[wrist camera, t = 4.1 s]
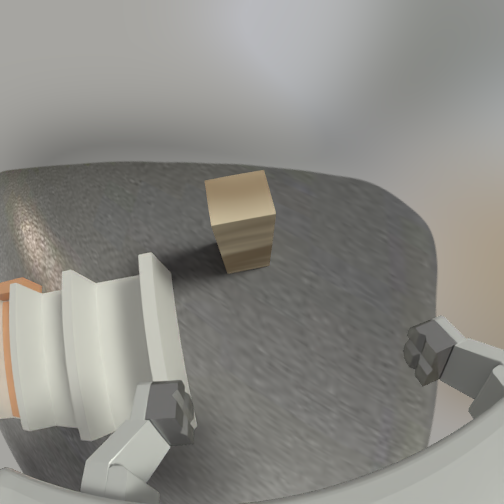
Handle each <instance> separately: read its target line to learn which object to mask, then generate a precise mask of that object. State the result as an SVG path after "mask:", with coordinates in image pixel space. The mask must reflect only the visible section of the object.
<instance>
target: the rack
mask: <svg viewBox="0 0 504 504" xmlns="http://www.w3.org/2000/svg"><path fill="white" fill-rule="evenodd" d="M138 257H139V273H140V275H136V276H131V277H126V278H121V279H116V280H111V281H105V282H100V283H94V282H93V281H91V280H89V279H87V278H85V277H84V276H82V275H80V274H78V273H76V272H75V271H73V270H68V271H63V272H62V290H59V291H53V292H48V293H43V294H42V286H40V285H38V284H36V283H34V282H32V281H29V280H27V279H25V278H23V277H22V278H18V279H14V280H10V281H6V282H2V283H0V419H6V418H18V419H21V423H22V428H23V430H27V431H33V430H38V429H43V428H48V427H53V426H63V427H71V428H78V430H79V433H80V437H81V440H85V441H94V440H96V439H98V438H101V437H103V436H105V435H108V434H110V433H112V432H114V431H116V430H117V428H118V427H119V426H120V425H121V424H122V423H123V422H124V421H125V420H130V416H131V411H132V406H133V401H134V397H135V392H136V387H137V385H138V384H139V382H153V381H172V380H182V382H183V384H184V385H185V392H186V393H188V394H189V395H190V397H191V394H190V390H189V385H188V380H187V375H186V369H185V364H184V358H183V353H182V347H181V341H180V335H179V328H178V322H177V315H176V308H175V300H174V293H173V285H172V276H171V272H170V271H169V270H168V269H167V268H166V267H165V266H164V265H163V264H162V263H161V262H160V261H159V260H158V259H157V258H156V257H155V256H154V254H153V253H152V252H150V253H145V254H140V255H138ZM191 400H192V399H191ZM193 409H194V408H193ZM190 424H191V425H192V427H193V428H194V429H195V428H196V427H197V421H196V417H195V413H194V419H193V420H192V421H191V423H190Z"/></svg>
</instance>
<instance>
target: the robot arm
mask: <svg viewBox="0 0 504 504" xmlns="http://www.w3.org/2000/svg"><path fill="white" fill-rule="evenodd" d="M407 336H408V338H409V340H408V341H407V342H406V343H405V345H404V350H403V353H404V359H405V361H406V363H407V365H408V366H409V367H410V368H413V369H415V376H416V378H417V379H418V381H419V382H420V384H421V385H422V386H425V385H428V384H430V383H432V382H434V381H436V380H438V379H440V380H441V381H442V382H444V383H446V384H448V385H449V386H451V387H453V388H455V389H457V390H459V391H460V392H462V393H464V394H466V395H467V396H469V397H471V398H473V399H475V400H474V401H473V403H472V404H471V406H470V407H469V413H470V414H471V416H472V417H473V420H472V421H470V422H469V423H467V424H466V425H464V426H463V427H461V428H460V429H458V430H457V431H455V432H453V433H451V434H450V435H449V436H447V437H445V438H443V439H441V440H440V441H438V442H436V443H434V444H433V445H431V446H429V447H427V448H425V449H423V450H421V451H419V452H417V453H415V454H413V455H411V456H409V457H407V458H405V459H403V460H401V461H398V462H396V463H394V464H392V465H389V466H387V467H385V468H382V469H380V470H377V471H375V472H372V473H369V474H367V475H364V476H361V477H358V478H356V479H353V480H350V481H347V482H343V483H340V484H337V485H334V486H330V487H327V488H323V489H319V490H315V491H311V492H307V493H303V494H298V495H294V496H289V497H283V498H278V499H272V500H265V501H258V502H250V503H241V504H504V350H502V349H499V348H497V347H494V346H491V345H487V344H485V343H482V342H479V341H476V340H473V339H470V338H468V339H466V338H465V337H464V336H463V335H462V334H461V333H460V332H459V331H458V330H457V329H456V328H455V327H454V326H453V325H452V324H451V323H450V322H449V321H448V320H447V319H446V318H445V317H444V316H438V317H436V318H434V319H431V320H428V321H426V322H423V323H421V324H418V325H416V326H413V327H411V328H410V329H409V330H408V334H407ZM193 419H194V409H193V403H192V400H191V397H190V395H189V394H188V393H186V392H185V385H184V384H183V382H182V380H172V381H153V382H139V384H138V385H137V387H136V392H135V397H134V401H133V406H132V411H131V416H130V420H125V421H124V422H123V423H122V424H121V425H120V426H119V427H118V428H117V430H116V431H115V432H114V433H113V434H112V435H111V436H110V437H109V438H108V439H107V440H106V441H105V442H104V443H103V444H102V445H101V446H100V447H99V448H98V449H97V450H96V451H95V452H94V453H93V454H92V455H91V456H90V457H89V458H88V459H87V460H86V464H85V468H84V473H83V478H82V483H81V489H80V492H78V491H74V490H70V489H67V488H63V487H60V486H57V485H53V484H50V483H47V482H44V481H41V480H39V479H36V478H33V477H31V476H28V475H25V474H23V473H21V472H18V471H16V470H13V469H11V468H6V467H5V468H2V469H0V504H159V495H160V494H159V493H158V492H157V491H156V490H155V489H153V488H152V487H151V486H149V485H148V484H146V483H147V481H148V480H149V478H150V477H151V476H152V474H153V473H154V471H155V470H156V468H157V467H158V465H159V464H160V462H161V461H162V459H163V458H164V456H165V455H166V453H167V452H168V450H169V449H170V446H177V445H192V444H194V428H193V427H192V425H191V424H190V423H191V421H192V420H193Z"/></svg>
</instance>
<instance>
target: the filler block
mask: <svg viewBox="0 0 504 504" xmlns="http://www.w3.org/2000/svg"><path fill="white" fill-rule="evenodd" d="M205 186H206V193H207V200H208V207H209V214H210V220H211V226H212V229H213V232H214V235H215V238H216V241H217V244H218V247H219V250H220V253H221V256H222V259H223V262H224V265H225V268H226V270H227V273H228V274H229V273H235V272H240V271H245V270H250V269H255V268H260V267H265V266H269V264H270V257H271V249H272V241H273V233H274V225H275V217H276V212H275V208H274V205H273V201H272V198H271V194H270V190H269V187H268V183H267V180H266V176H265V173H264V170H261V171H255V172H249V173H243V174H238V175H232V176H227V177H221V178H216V179H211V180H206V181H205Z"/></svg>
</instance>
